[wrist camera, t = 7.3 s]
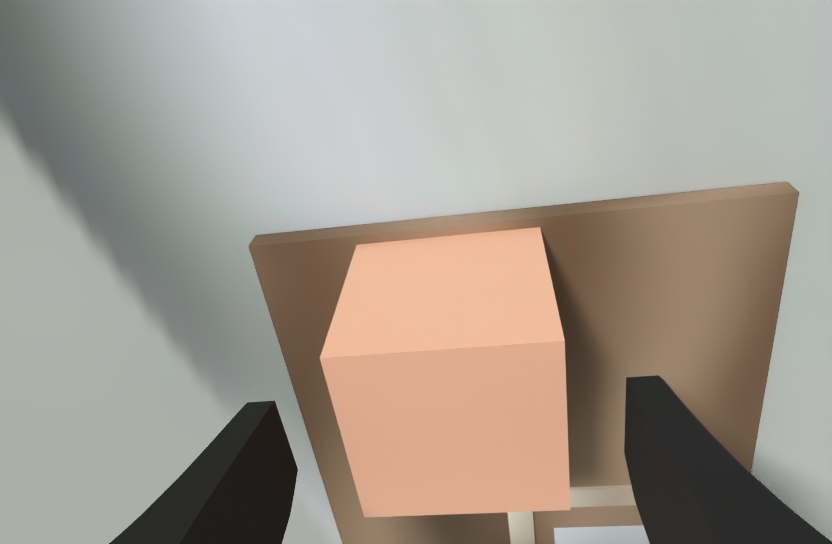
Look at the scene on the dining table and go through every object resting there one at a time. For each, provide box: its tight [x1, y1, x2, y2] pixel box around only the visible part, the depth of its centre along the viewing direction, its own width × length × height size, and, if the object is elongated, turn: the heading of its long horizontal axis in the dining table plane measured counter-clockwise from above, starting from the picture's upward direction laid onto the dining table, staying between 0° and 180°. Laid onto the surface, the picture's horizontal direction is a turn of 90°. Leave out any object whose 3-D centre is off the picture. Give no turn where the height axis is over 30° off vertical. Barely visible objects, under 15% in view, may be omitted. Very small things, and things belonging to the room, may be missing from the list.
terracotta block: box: [320, 227, 570, 517], centre depth 14 cm, size 4×4×4 cm
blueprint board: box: [249, 182, 799, 544], centre depth 20 cm, size 13×18×1 cm
